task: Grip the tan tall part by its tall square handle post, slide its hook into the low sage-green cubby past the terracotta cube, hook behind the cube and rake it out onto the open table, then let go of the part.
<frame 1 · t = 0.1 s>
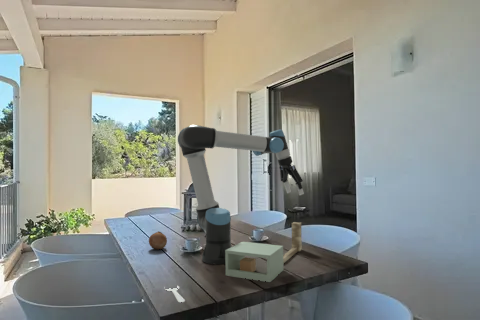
hand: (295, 193, 189), 28 cm above the table, fingers open, 13 cm apart
tan tall part: (296, 250, 175), on the table
lidded jar: (211, 235, 213), on the table
onion: (158, 249, 180), on the table
cube: (247, 271, 143), resting in cubby
cubby: (255, 272, 141), on the table
white fork: (175, 294, 120), on the table
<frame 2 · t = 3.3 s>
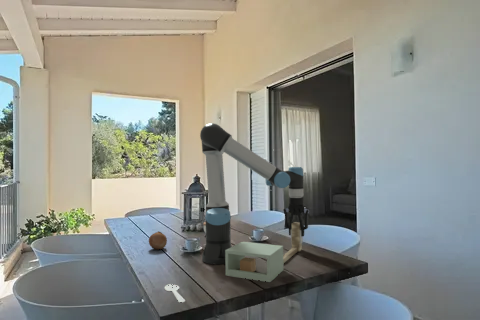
hand: (296, 242, 175), 4 cm above the table, fingers closed on tan tall part, 4 cm apart
tan tall part: (296, 250, 175), on the table, touching gripper
everything else where it was.
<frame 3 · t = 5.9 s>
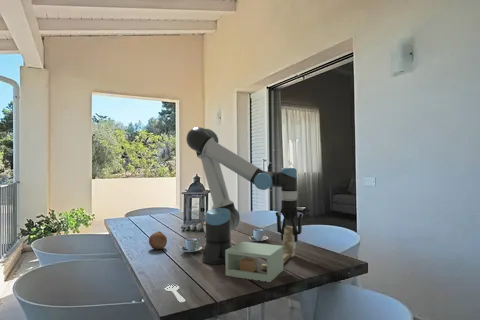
hand: (289, 247, 165), 4 cm above the table, fingers closed on tan tall part, 4 cm apart
tan tall part: (289, 255, 165), on the table, touching gripper
everything else where it was.
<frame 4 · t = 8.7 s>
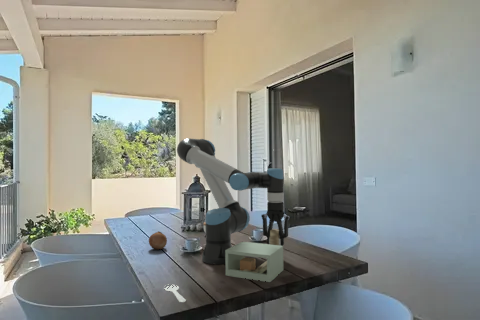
hand: (275, 251, 158), 4 cm above the table, fingers closed on tan tall part, 4 cm apart
tan tall part: (275, 259, 158), on the table, touching gripper
everything else where it was.
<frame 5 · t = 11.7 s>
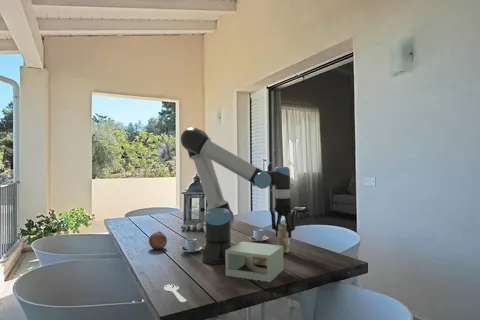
hand: (283, 243, 171), 4 cm above the table, fingers closed on tan tall part, 4 cm apart
tan tall part: (283, 251, 171), on the table, touching cube, gripper
cube: (260, 262, 154), on the table, touching tan tall part
everything else where it was.
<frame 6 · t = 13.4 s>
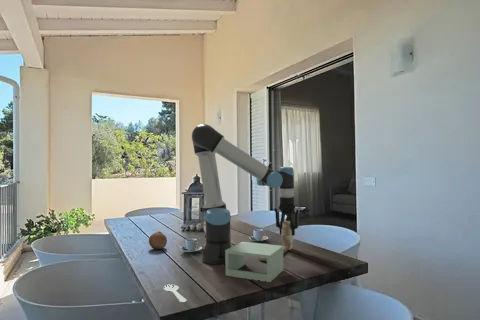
hand: (287, 241, 177), 4 cm above the table, fingers closed on tan tall part, 4 cm apart
tan tall part: (287, 248, 178), on the table, touching gripper
cube: (265, 259, 160), on the table
everything else where it was.
when the fingers open (4 cm above the table, at t = 14.1 s): tan tall part stays where it is, on the table.
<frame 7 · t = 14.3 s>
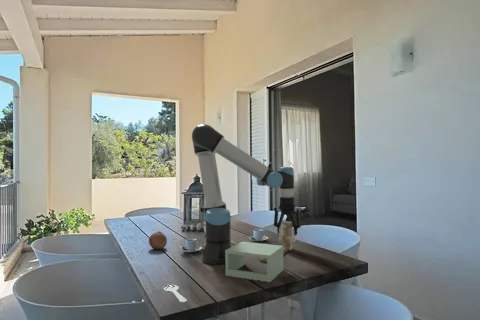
hand: (287, 240, 177), 4 cm above the table, fingers open, 7 cm apart
tan tall part: (287, 249, 177), on the table
everything else where it was.
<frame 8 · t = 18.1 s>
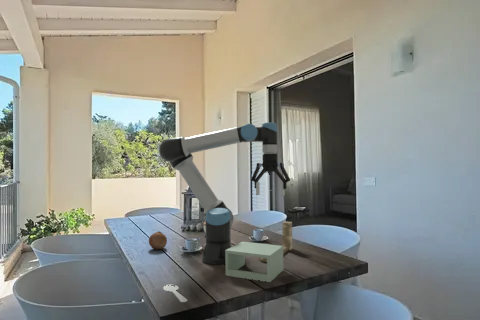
hand: (270, 195, 172), 29 cm above the table, fingers open, 13 cm apart
nothing on the table moved.
at the end: cube inside the target area (2.2 cm from its centre), on the table; cube tilted 0°; the gripper is holding nothing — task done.
